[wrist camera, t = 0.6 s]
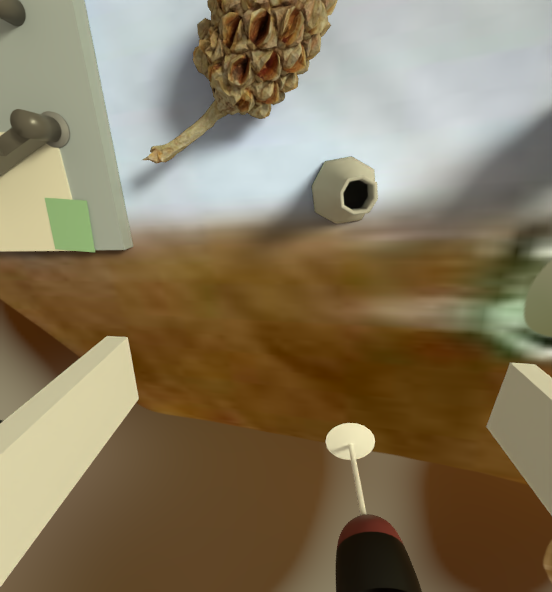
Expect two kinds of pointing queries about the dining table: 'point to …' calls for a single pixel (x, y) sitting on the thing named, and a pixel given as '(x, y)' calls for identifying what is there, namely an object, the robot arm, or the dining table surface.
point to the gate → (26, 137)
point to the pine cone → (251, 58)
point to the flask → (344, 190)
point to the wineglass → (367, 531)
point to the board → (74, 138)
